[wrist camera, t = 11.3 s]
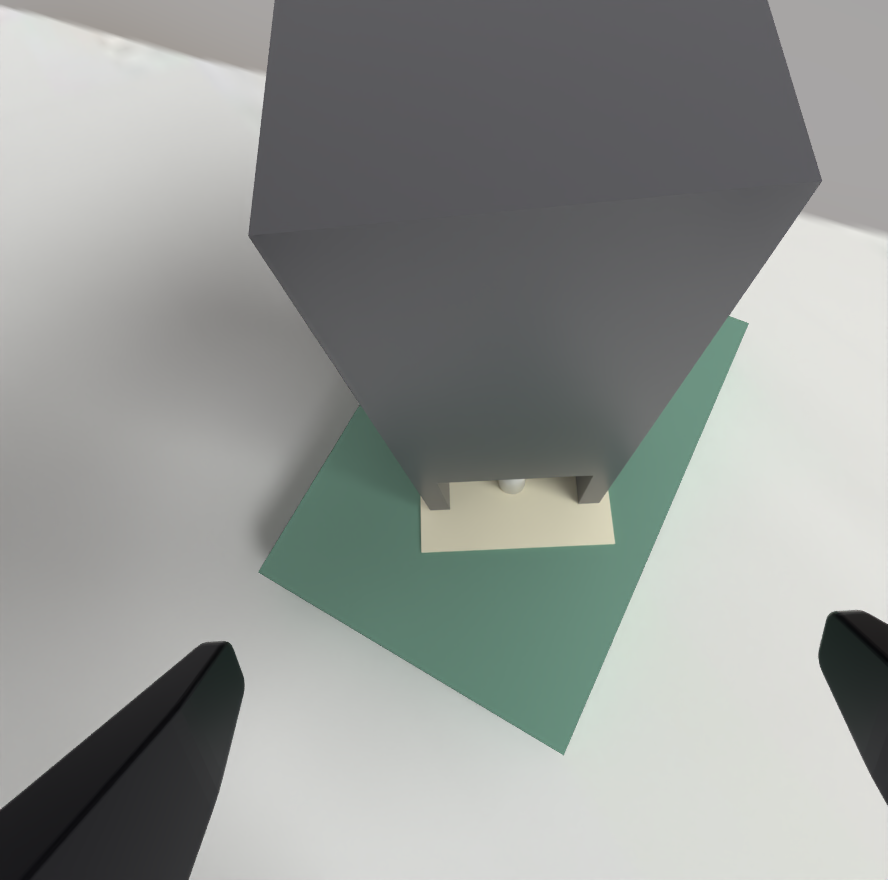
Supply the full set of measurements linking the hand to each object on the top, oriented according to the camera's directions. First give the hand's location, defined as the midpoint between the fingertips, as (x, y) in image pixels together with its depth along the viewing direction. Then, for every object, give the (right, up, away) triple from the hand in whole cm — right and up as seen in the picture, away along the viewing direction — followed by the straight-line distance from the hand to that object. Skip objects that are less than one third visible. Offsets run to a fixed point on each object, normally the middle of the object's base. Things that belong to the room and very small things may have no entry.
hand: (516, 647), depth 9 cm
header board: (+1, +3, +10) cm, 11 cm away
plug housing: (+1, +3, +9) cm, 9 cm away
